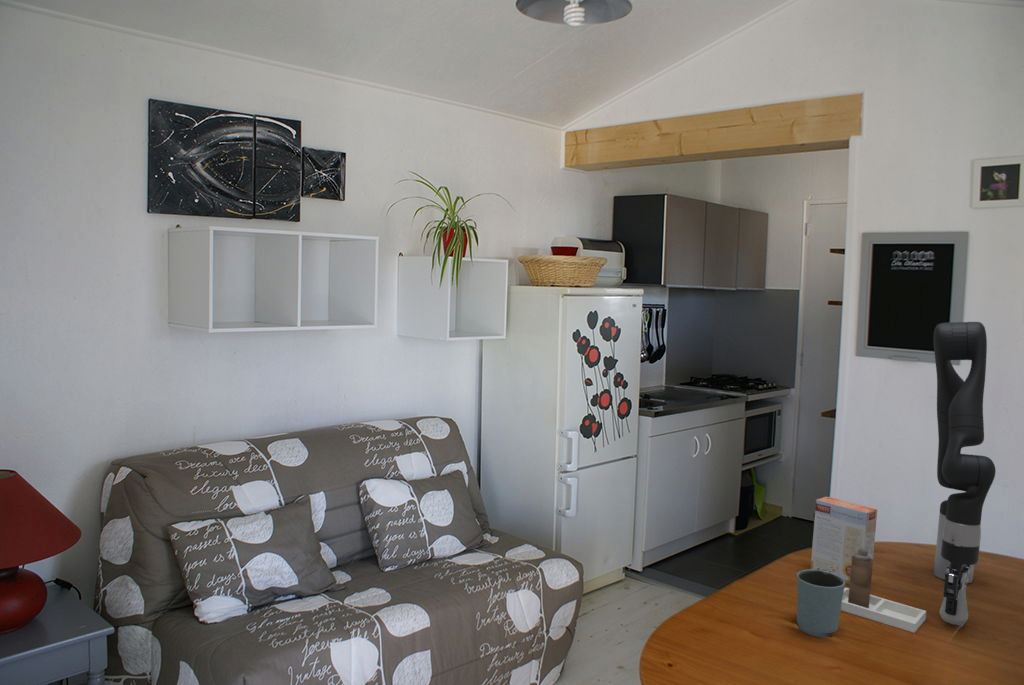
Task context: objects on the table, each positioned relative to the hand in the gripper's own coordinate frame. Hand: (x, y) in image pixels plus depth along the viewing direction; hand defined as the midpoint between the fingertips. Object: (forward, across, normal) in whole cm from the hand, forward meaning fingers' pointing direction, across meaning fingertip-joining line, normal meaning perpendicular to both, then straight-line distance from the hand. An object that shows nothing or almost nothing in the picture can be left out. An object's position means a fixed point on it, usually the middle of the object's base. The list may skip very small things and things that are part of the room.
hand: (954, 609), depth 184 cm
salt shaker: (+4, 0, 0) cm, 4 cm away
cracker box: (+4, -7, -28) cm, 29 cm away
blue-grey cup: (+4, +26, -22) cm, 34 cm away
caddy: (+4, +9, -14) cm, 17 cm away
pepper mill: (+3, +9, -18) cm, 21 cm away
